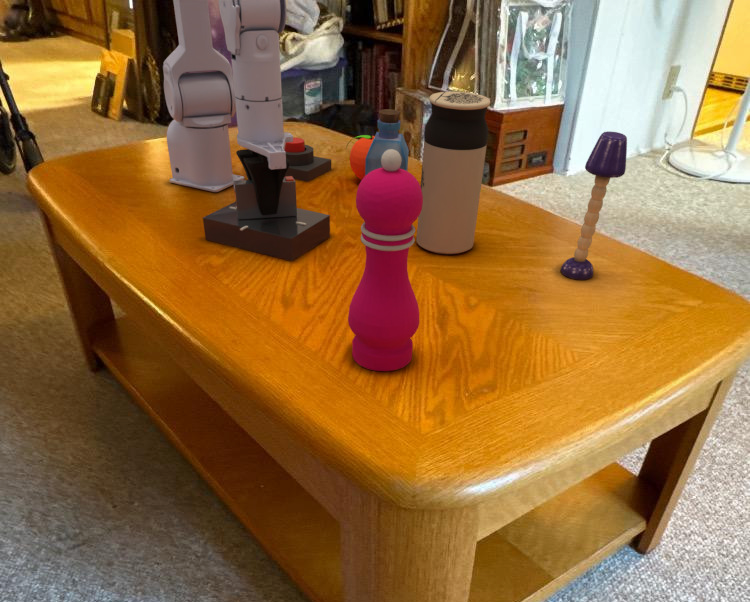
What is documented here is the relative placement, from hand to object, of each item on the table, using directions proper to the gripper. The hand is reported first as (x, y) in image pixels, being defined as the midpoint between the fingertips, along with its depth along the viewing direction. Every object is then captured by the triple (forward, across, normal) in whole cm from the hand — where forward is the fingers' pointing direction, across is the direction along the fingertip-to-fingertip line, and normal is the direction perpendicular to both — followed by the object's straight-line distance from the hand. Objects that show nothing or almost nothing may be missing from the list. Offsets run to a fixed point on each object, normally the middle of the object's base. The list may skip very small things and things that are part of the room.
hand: (266, 210), depth 92 cm
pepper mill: (+4, -35, -2) cm, 35 cm away
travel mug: (+4, -10, -23) cm, 25 cm away
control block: (+4, +28, -13) cm, 31 cm away
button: (+1, +28, -13) cm, 31 cm away
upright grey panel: (+1, 0, 0) cm, 1 cm away
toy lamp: (+4, -24, -35) cm, 43 cm away
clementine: (+4, +20, -23) cm, 30 cm away
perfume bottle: (+4, +12, -23) cm, 26 cm away
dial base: (+4, 0, 0) cm, 4 cm away
